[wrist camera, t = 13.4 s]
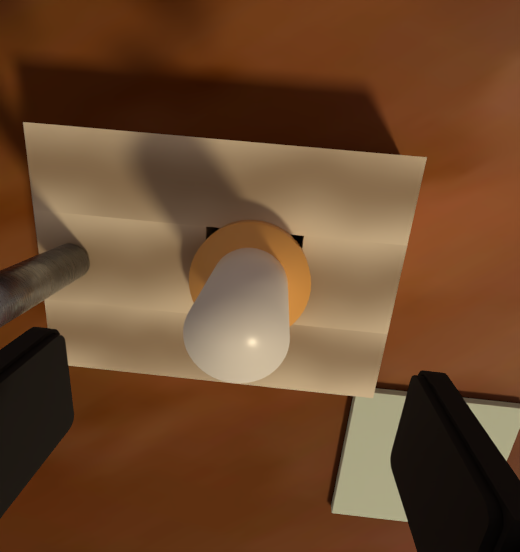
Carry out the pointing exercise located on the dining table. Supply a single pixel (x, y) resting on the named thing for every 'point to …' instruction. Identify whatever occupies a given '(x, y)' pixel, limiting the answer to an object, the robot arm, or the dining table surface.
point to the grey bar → (39, 279)
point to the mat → (378, 445)
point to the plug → (245, 300)
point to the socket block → (206, 220)
